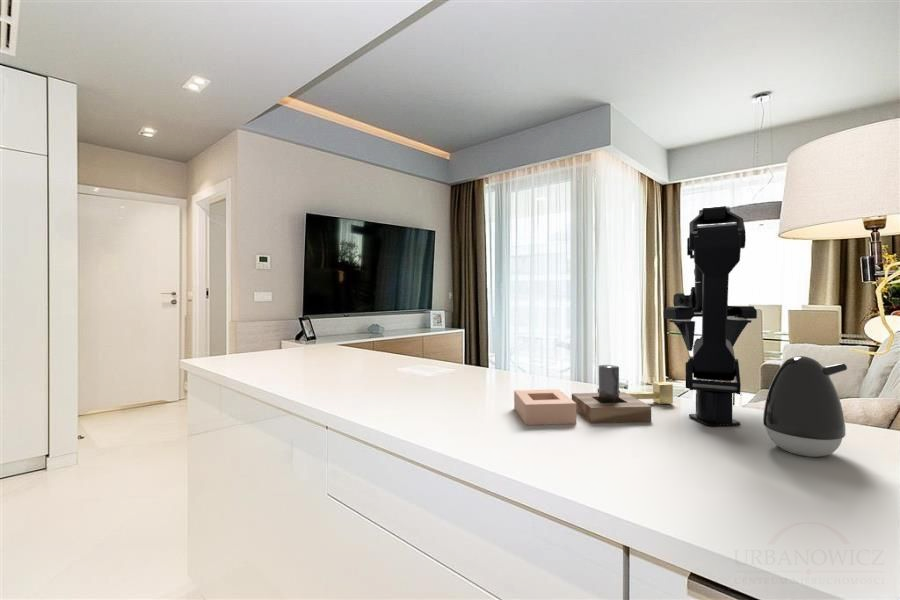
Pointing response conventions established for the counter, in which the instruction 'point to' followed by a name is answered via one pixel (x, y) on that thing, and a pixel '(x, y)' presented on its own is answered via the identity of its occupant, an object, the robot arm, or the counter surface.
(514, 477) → the counter surface
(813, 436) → the pump dispenser
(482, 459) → the counter surface
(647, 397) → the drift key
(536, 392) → the block
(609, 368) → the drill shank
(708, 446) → the counter surface
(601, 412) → the socket block
